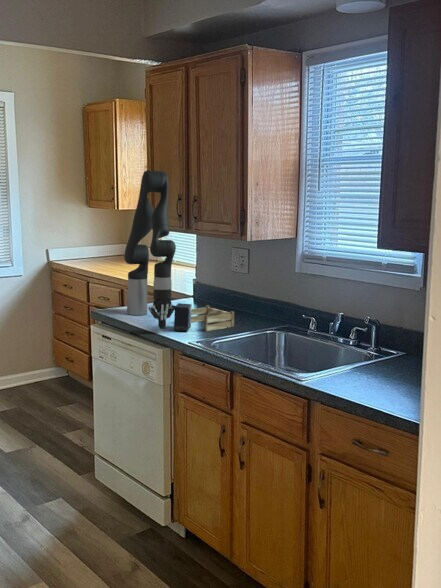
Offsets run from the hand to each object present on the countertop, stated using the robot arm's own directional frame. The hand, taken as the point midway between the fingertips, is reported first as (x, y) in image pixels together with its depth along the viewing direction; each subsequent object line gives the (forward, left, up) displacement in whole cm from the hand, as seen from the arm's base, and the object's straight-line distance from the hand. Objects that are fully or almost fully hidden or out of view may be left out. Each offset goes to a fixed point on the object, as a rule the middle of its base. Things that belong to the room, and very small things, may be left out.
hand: (162, 328), depth 269 cm
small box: (-1, +12, -2) cm, 12 cm away
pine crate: (-1, +25, -2) cm, 25 cm away
